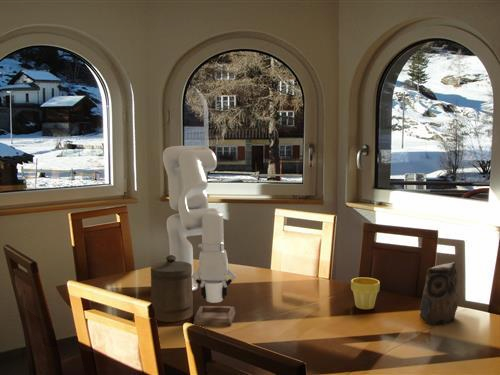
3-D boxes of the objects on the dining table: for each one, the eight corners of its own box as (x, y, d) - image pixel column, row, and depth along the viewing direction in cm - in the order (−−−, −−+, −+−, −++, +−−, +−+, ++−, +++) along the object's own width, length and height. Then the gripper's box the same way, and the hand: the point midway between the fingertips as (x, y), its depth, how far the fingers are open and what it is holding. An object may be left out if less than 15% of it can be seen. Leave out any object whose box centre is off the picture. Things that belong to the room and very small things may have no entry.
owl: (457, 316, 195) (459, 260, 193) (459, 329, 183) (461, 269, 181) (419, 313, 199) (421, 258, 197) (419, 325, 187) (420, 267, 185)
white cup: (221, 303, 191) (221, 283, 190) (202, 302, 193) (201, 283, 192) (226, 297, 198) (226, 278, 197) (207, 296, 199) (207, 277, 199)
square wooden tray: (193, 325, 190) (193, 318, 190) (199, 312, 203) (199, 305, 203) (231, 325, 189) (230, 318, 189) (235, 312, 202) (235, 306, 202)
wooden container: (199, 310, 206) (198, 252, 203) (182, 324, 192) (180, 261, 189) (163, 306, 210) (161, 249, 208) (143, 320, 197) (141, 259, 194)
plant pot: (382, 304, 209) (382, 278, 208) (376, 312, 200) (376, 286, 199) (354, 300, 214) (355, 275, 213) (347, 309, 204) (347, 283, 203)
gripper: (186, 249, 190) (188, 300, 192) (236, 249, 189) (237, 301, 191) (190, 244, 198) (192, 294, 200) (239, 244, 196) (240, 294, 198)
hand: (214, 297), depth 195 cm, fingers closed on white cup, 6 cm apart
